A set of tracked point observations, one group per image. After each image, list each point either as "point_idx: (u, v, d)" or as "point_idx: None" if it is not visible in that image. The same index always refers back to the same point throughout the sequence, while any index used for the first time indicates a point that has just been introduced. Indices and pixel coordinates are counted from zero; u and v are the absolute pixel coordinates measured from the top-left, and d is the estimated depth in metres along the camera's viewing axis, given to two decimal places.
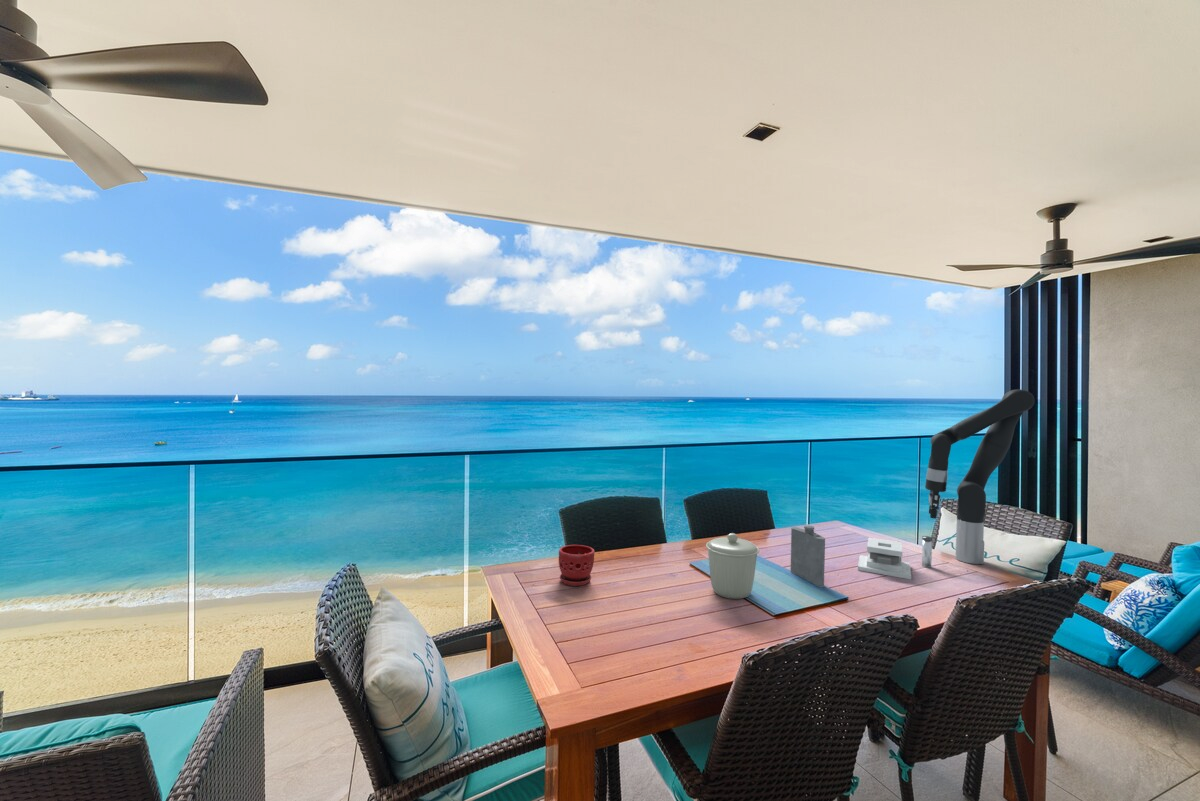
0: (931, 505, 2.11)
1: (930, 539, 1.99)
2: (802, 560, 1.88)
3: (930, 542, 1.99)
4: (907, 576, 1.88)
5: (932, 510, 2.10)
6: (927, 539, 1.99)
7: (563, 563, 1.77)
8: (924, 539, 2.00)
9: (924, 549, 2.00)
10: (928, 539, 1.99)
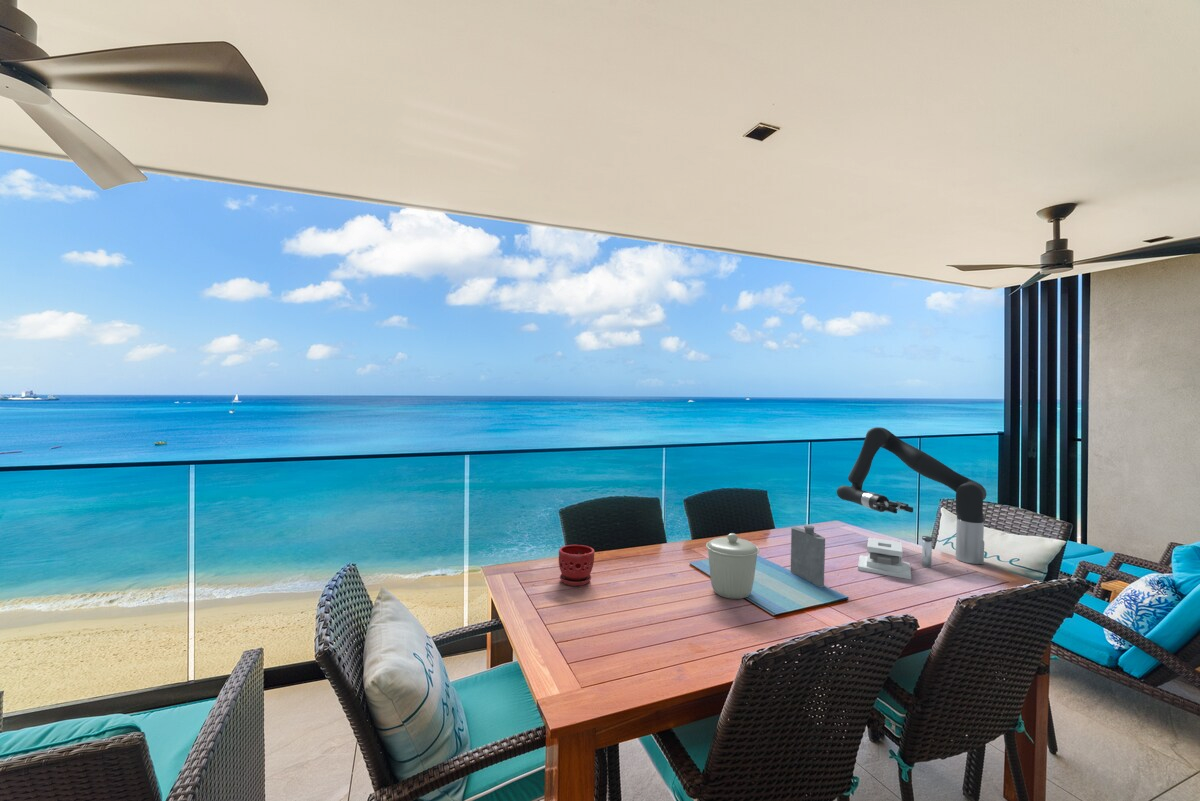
0: (885, 510, 2.16)
1: (930, 539, 1.99)
2: (802, 560, 1.88)
3: (930, 542, 1.99)
4: (907, 576, 1.88)
5: (887, 510, 2.14)
6: (927, 539, 1.99)
7: (563, 563, 1.77)
8: (924, 539, 2.00)
9: (924, 549, 2.00)
10: (928, 539, 1.99)
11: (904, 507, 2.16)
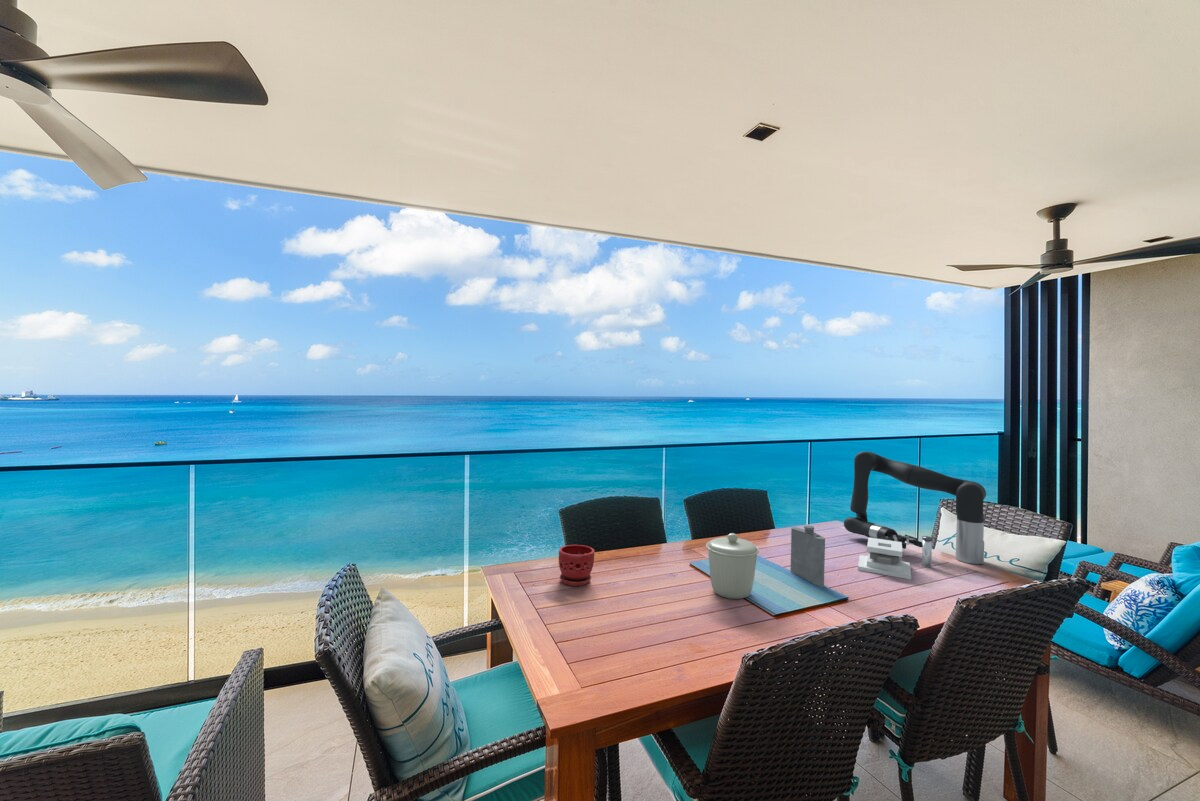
0: None
1: (930, 539, 1.99)
2: (802, 560, 1.88)
3: (930, 542, 1.99)
4: (907, 576, 1.88)
5: None
6: (927, 539, 1.99)
7: (563, 563, 1.77)
8: (924, 539, 2.00)
9: (924, 549, 2.00)
10: (928, 539, 1.99)
11: (913, 541, 2.12)
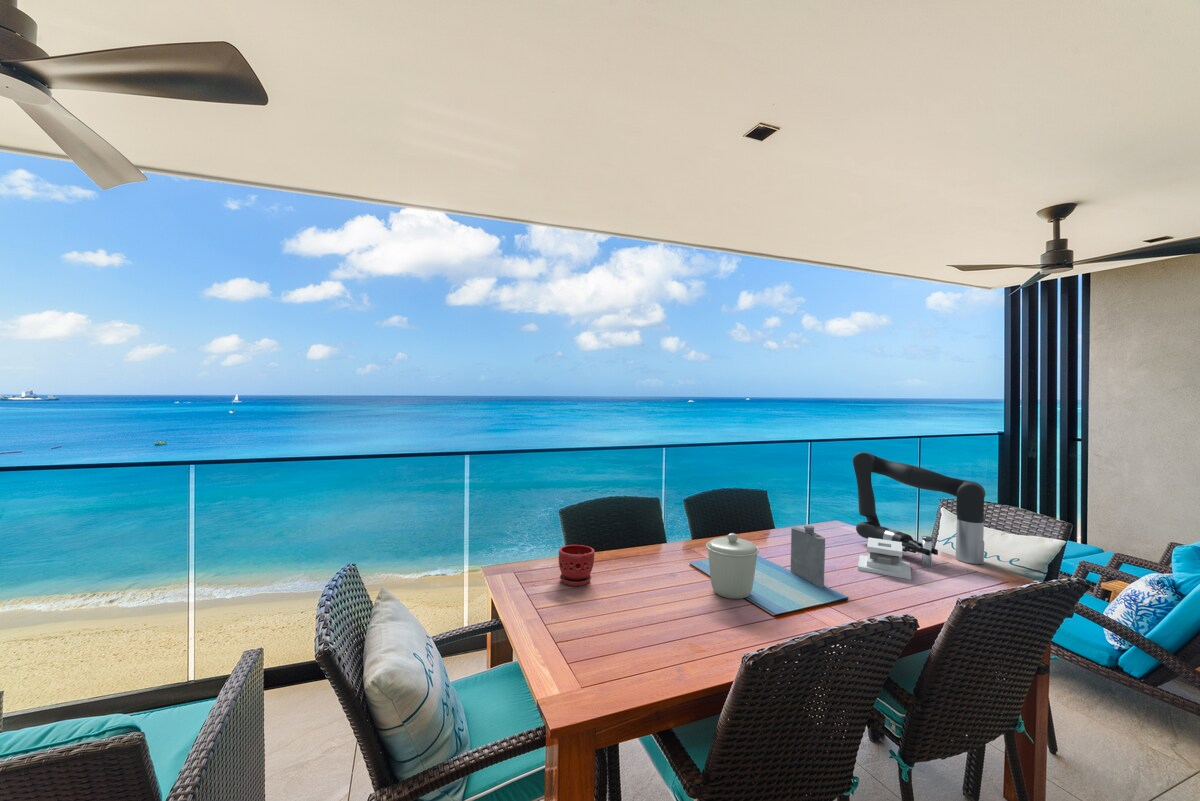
0: (916, 551, 2.03)
1: (930, 539, 1.99)
2: (802, 560, 1.88)
3: (930, 542, 1.99)
4: (907, 576, 1.88)
5: (920, 552, 2.01)
6: (927, 539, 1.99)
7: (563, 563, 1.77)
8: (924, 539, 2.00)
9: None
10: (928, 539, 1.99)
11: None
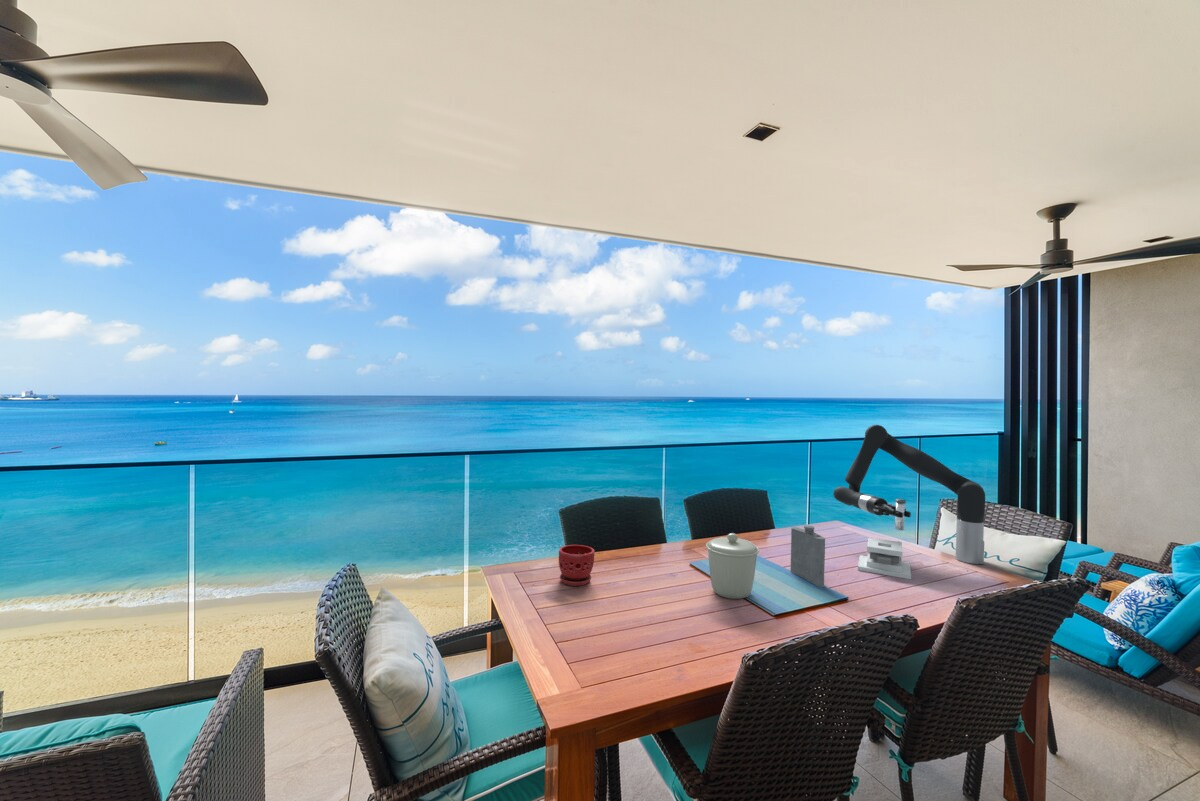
0: (889, 514, 2.01)
1: (903, 501, 1.98)
2: (802, 560, 1.88)
3: (903, 504, 1.98)
4: (907, 576, 1.88)
5: (893, 514, 1.99)
6: (900, 501, 1.98)
7: (563, 563, 1.77)
8: (897, 501, 1.99)
9: None
10: (901, 501, 1.98)
11: None
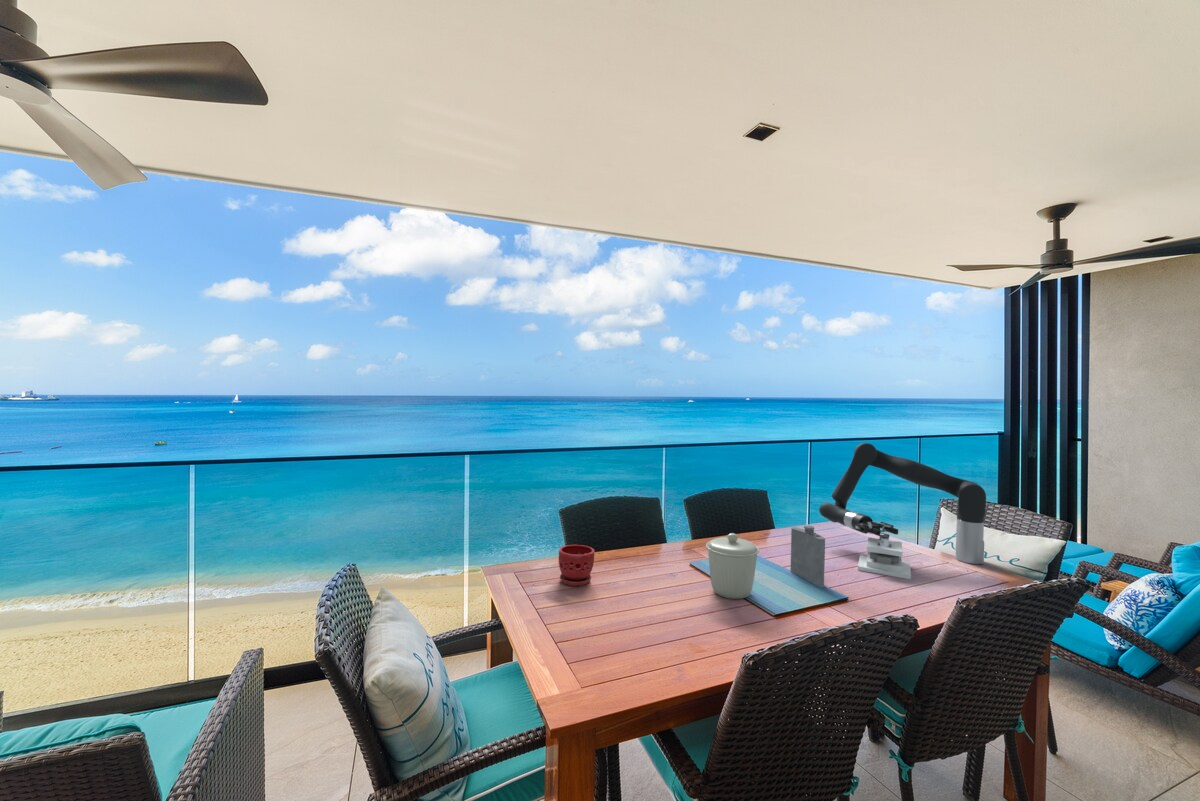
0: (868, 532, 2.00)
1: (887, 536, 1.97)
2: (802, 560, 1.88)
3: (887, 539, 1.97)
4: (907, 576, 1.88)
5: (871, 532, 1.98)
6: (884, 536, 1.97)
7: (563, 563, 1.77)
8: (881, 536, 1.98)
9: None
10: (885, 536, 1.97)
11: (889, 528, 2.01)
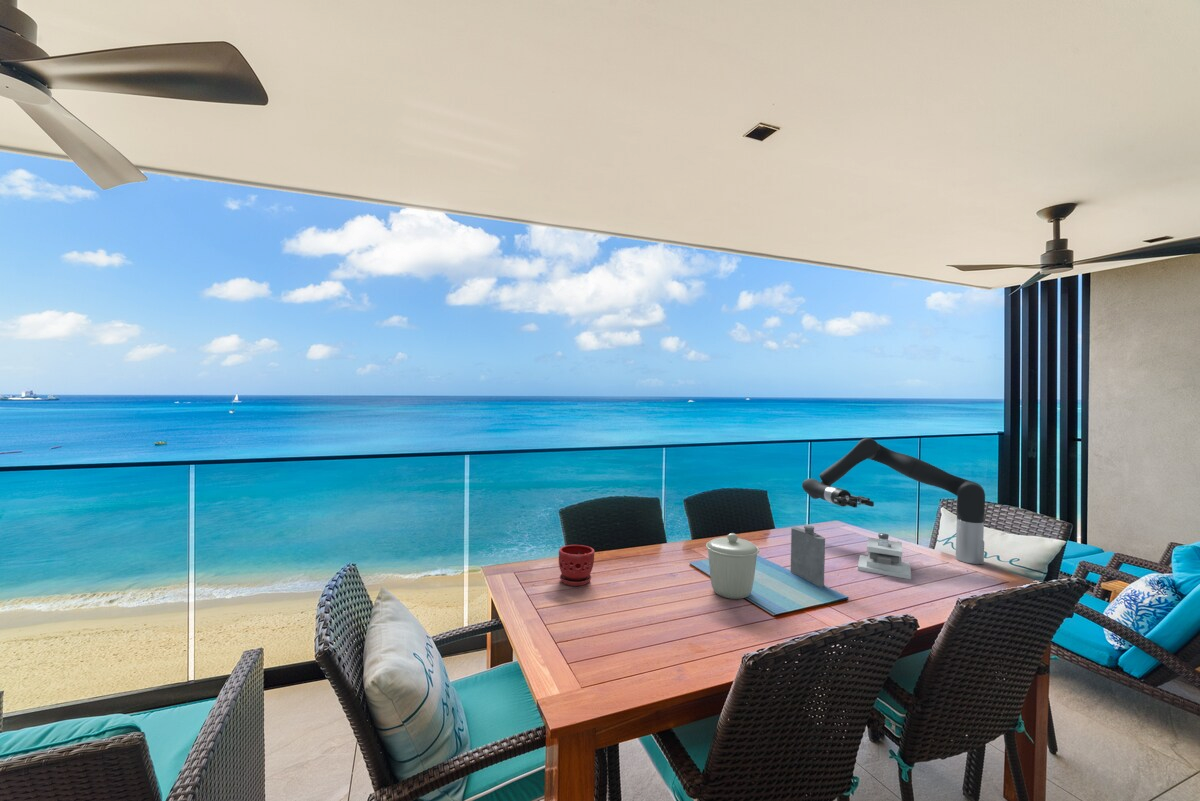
0: (845, 504, 2.12)
1: (886, 536, 1.97)
2: (802, 560, 1.88)
3: (886, 539, 1.97)
4: (907, 576, 1.88)
5: (848, 504, 2.10)
6: (883, 536, 1.97)
7: (563, 563, 1.77)
8: (880, 536, 1.98)
9: None
10: (884, 536, 1.97)
11: (865, 501, 2.13)
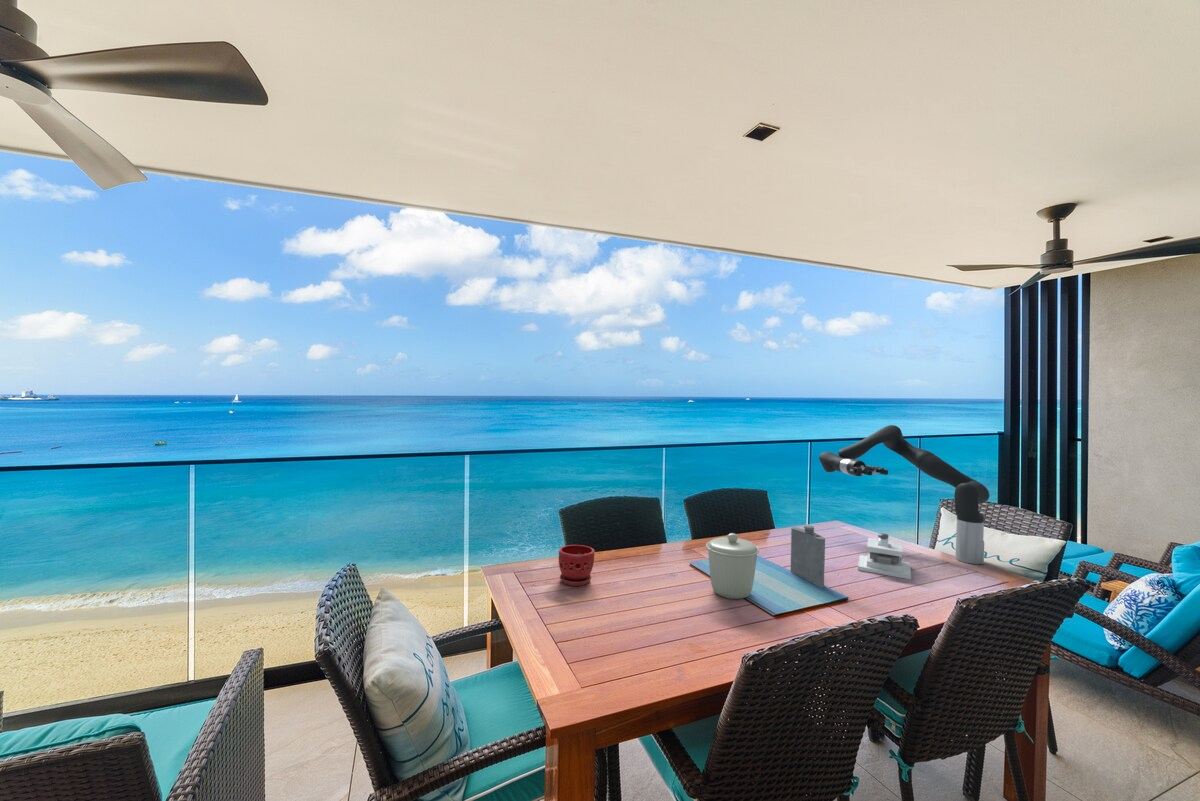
0: (861, 473, 2.23)
1: (886, 536, 1.97)
2: (802, 560, 1.88)
3: (886, 539, 1.97)
4: (907, 576, 1.88)
5: (863, 473, 2.21)
6: (883, 536, 1.97)
7: (563, 563, 1.77)
8: (880, 537, 1.98)
9: None
10: (884, 536, 1.97)
11: (880, 470, 2.24)
